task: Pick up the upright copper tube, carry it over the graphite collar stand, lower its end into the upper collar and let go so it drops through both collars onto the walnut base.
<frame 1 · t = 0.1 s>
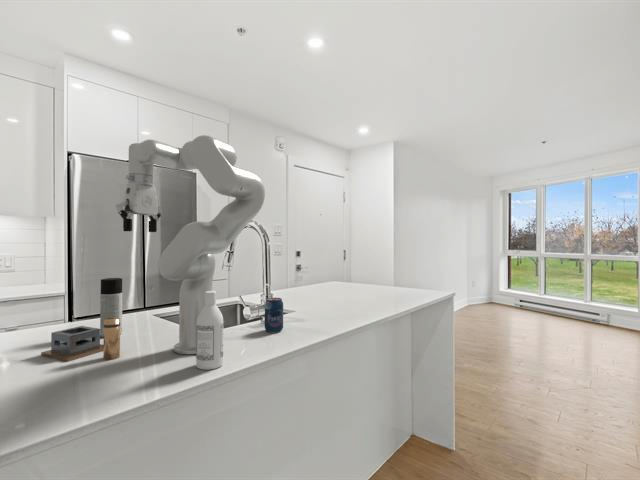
hand: (140, 231, 115), 37 cm above the counter, tool pointing down, fingers open, 9 cm apart
soda can: (273, 331, 128), on the counter
bath foam: (209, 366, 92), on the counter
spray can: (111, 335, 121), on the counter
copper tube: (111, 357, 97), on the counter
collar stand: (76, 352, 102), on the counter
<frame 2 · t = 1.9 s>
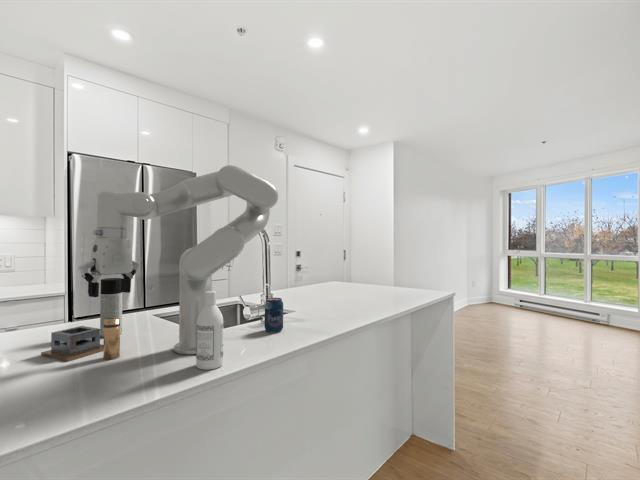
hand: (110, 294, 97), 18 cm above the counter, tool pointing down, fingers open, 9 cm apart
nothing on the counter moved.
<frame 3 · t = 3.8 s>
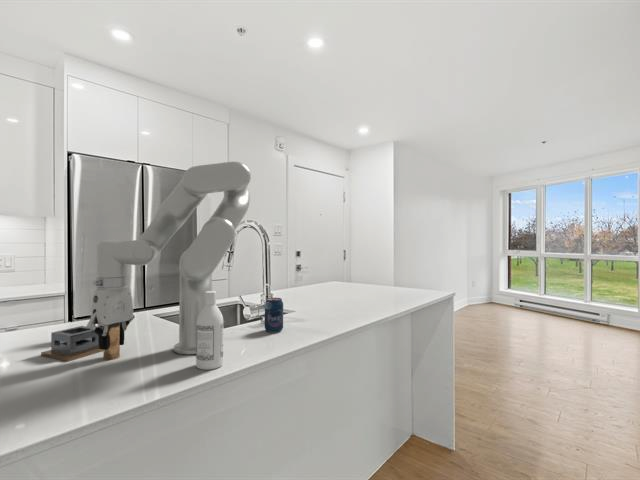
hand: (111, 346, 97), 3 cm above the counter, tool pointing down, fingers closed on copper tube, 4 cm apart
copper tube: (111, 357, 97), on the counter, touching gripper
everything else where it was.
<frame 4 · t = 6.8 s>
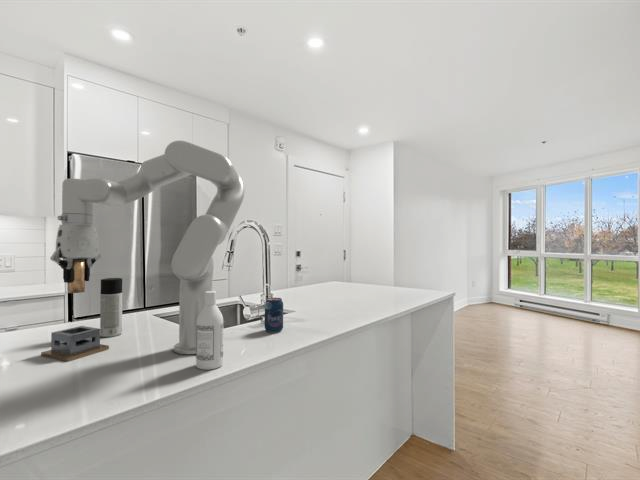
hand: (76, 281, 102), 21 cm above the counter, tool pointing down, fingers closed on copper tube, 4 cm apart
copper tube: (76, 292, 102), point 18 cm above the counter, touching gripper
everything else where it was.
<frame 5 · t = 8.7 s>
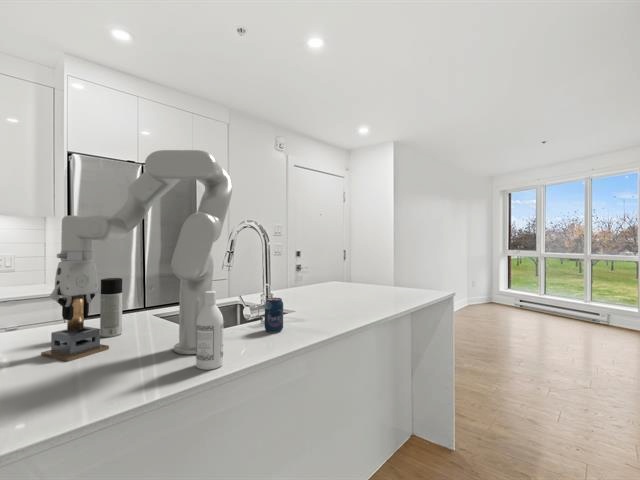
hand: (75, 317, 102), 10 cm above the counter, tool pointing down, fingers closed on copper tube, 4 cm apart
copper tube: (75, 328, 102), point 7 cm above the counter, touching gripper
everything else where it was.
when the fingers open (9 cm above the counter, at t = 10.1 s): copper tube drops 5 cm, resting on collar stand.
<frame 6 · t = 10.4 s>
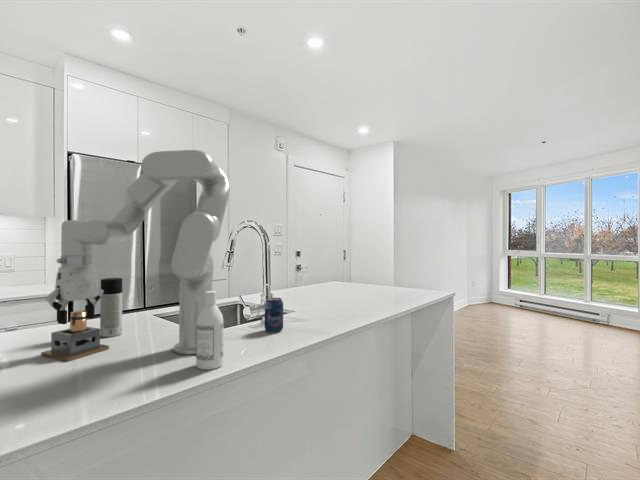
hand: (76, 320, 102), 10 cm above the counter, tool pointing down, fingers open, 7 cm apart
copper tube: (77, 348, 102), point 1 cm above the counter, touching collar stand
everything else where it was.
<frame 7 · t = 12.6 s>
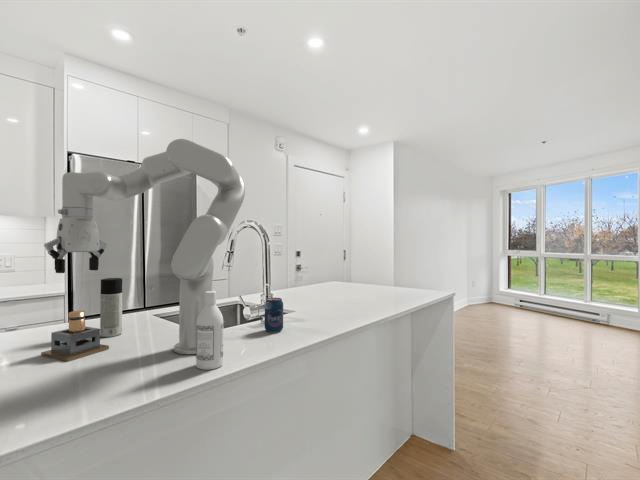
hand: (77, 271, 102), 24 cm above the counter, tool pointing down, fingers open, 9 cm apart
nothing on the counter moved.
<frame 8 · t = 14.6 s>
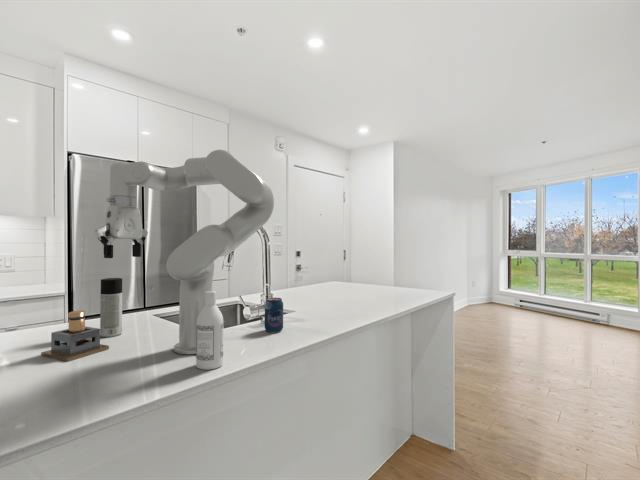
hand: (123, 257, 107), 28 cm above the counter, tool pointing down, fingers open, 9 cm apart
nothing on the counter moved.
at the end: copper tube 0.4 cm off-centre on the collar stand, point 1.1 cm above the collar stand's base; copper tube tilted 2°; the gripper is holding nothing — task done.
